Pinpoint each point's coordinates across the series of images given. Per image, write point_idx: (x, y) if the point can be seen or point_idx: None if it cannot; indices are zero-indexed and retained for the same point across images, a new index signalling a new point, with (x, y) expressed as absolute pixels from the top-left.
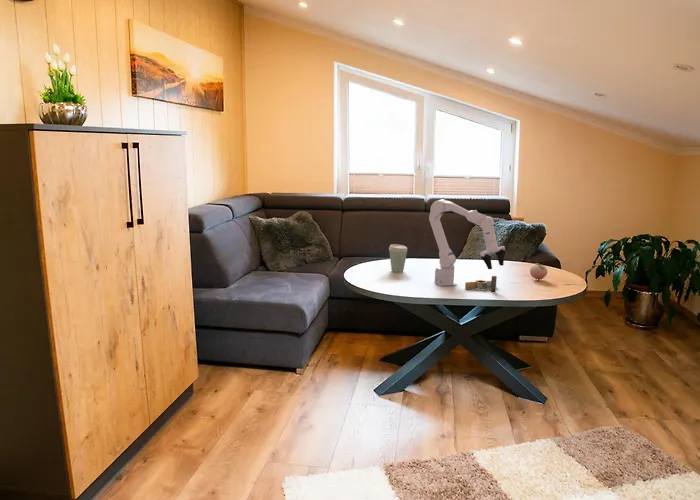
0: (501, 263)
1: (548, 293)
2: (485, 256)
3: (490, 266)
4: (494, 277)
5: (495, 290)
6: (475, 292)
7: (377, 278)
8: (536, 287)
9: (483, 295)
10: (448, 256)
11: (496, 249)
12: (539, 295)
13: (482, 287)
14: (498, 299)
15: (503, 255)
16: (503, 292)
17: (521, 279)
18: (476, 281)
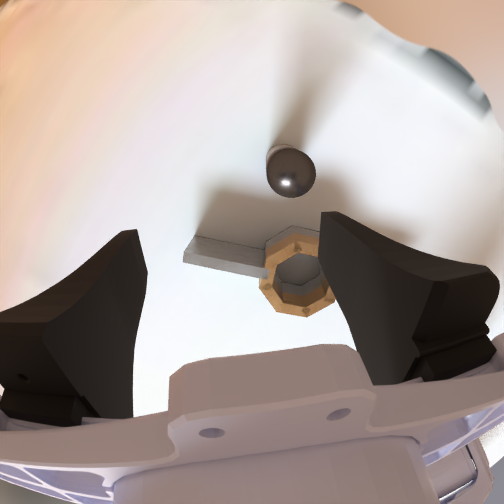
0: (135, 254)
1: (19, 53)
2: (483, 327)
3: (356, 221)
4: (303, 153)
5: (275, 146)
6: (392, 199)
7: (487, 444)
8: (2, 163)
9: (392, 126)
10: (478, 470)
11: (349, 403)
12: (74, 23)
13: (315, 234)
14: (361, 24)
15: (59, 294)
16: (222, 124)
17: (8, 301)
18: (330, 293)
